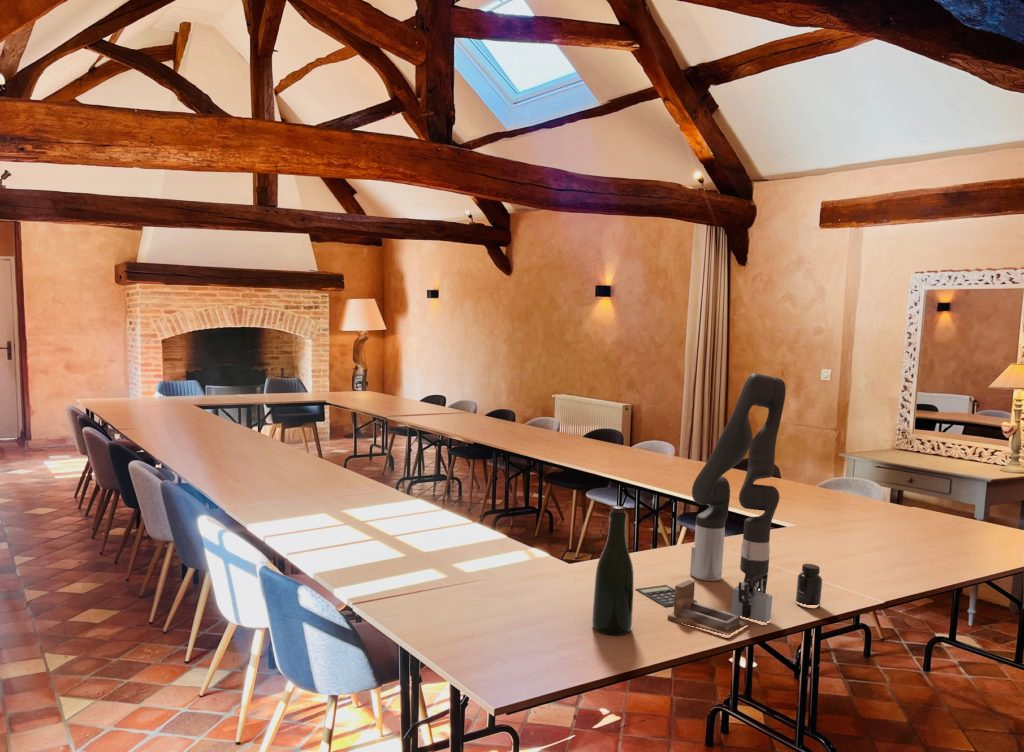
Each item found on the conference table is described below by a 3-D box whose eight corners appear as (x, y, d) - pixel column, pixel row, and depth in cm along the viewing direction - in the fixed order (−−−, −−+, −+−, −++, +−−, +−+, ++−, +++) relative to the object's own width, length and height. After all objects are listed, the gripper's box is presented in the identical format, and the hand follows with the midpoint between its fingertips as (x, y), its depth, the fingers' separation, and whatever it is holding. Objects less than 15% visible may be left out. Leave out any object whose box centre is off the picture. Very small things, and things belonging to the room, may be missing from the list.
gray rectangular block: (731, 616, 219) (732, 588, 219) (736, 613, 222) (738, 585, 221) (765, 626, 213) (767, 598, 212) (770, 623, 215) (772, 595, 215)
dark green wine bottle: (627, 621, 212) (634, 502, 209) (634, 637, 201) (642, 512, 199) (589, 620, 211) (595, 501, 209) (594, 635, 201) (601, 511, 198)
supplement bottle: (792, 605, 230) (795, 565, 229) (799, 599, 235) (802, 560, 234) (816, 611, 226) (819, 571, 225) (823, 605, 231) (826, 566, 230)
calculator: (665, 605, 224) (635, 588, 237) (665, 608, 224) (635, 591, 237) (697, 600, 229) (666, 584, 242) (697, 603, 229) (666, 587, 242)
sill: (667, 619, 214) (669, 587, 214) (688, 608, 223) (690, 577, 223) (727, 639, 202) (730, 605, 202) (747, 627, 211) (750, 594, 211)
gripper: (753, 547, 224) (749, 604, 225) (730, 557, 213) (726, 616, 214) (778, 553, 219) (774, 611, 220) (756, 564, 208) (752, 624, 209)
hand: (751, 613), depth 217 cm, fingers open, 6 cm apart
